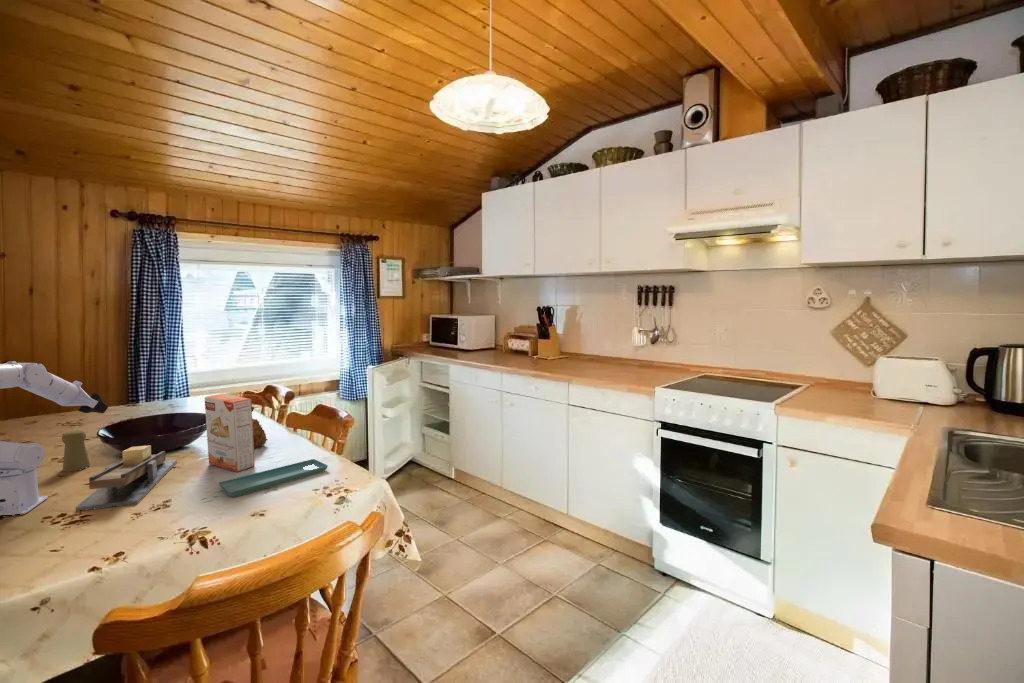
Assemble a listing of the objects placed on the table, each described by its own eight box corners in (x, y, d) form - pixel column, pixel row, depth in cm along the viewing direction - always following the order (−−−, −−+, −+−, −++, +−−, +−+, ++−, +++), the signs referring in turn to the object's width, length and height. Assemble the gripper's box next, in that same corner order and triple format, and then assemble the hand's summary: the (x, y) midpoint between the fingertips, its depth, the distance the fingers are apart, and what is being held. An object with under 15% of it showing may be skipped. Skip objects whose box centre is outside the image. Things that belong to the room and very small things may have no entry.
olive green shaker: (73, 472, 136) (70, 435, 134) (56, 470, 137) (53, 433, 136) (95, 465, 141) (92, 429, 140) (79, 463, 143) (76, 427, 141)
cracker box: (207, 464, 143) (203, 396, 140) (227, 458, 148) (223, 392, 146) (235, 473, 136) (232, 401, 134) (255, 466, 141) (252, 397, 139)
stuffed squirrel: (251, 438, 168) (249, 402, 167) (277, 445, 162) (275, 407, 160) (222, 446, 160) (220, 408, 158) (248, 453, 153) (246, 413, 152)
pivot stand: (137, 504, 116) (135, 482, 115) (75, 511, 112) (73, 488, 111) (176, 462, 144) (175, 445, 144) (128, 467, 140) (127, 449, 139)
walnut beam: (125, 485, 116) (124, 474, 116) (89, 489, 113) (89, 477, 113) (165, 460, 142) (165, 451, 142) (137, 463, 140) (136, 453, 140)
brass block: (142, 464, 129) (142, 449, 129) (122, 466, 128) (122, 451, 128) (151, 459, 135) (150, 445, 135) (132, 461, 133) (131, 446, 133)
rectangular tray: (313, 464, 145) (313, 457, 144) (329, 472, 139) (328, 464, 138) (217, 491, 125) (217, 482, 125) (230, 501, 119) (229, 492, 119)
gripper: (88, 383, 124) (124, 400, 136) (41, 366, 125) (81, 385, 138) (69, 407, 121) (108, 423, 133) (21, 390, 122) (64, 407, 134)
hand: (93, 405), depth 135 cm, fingers open, 7 cm apart
